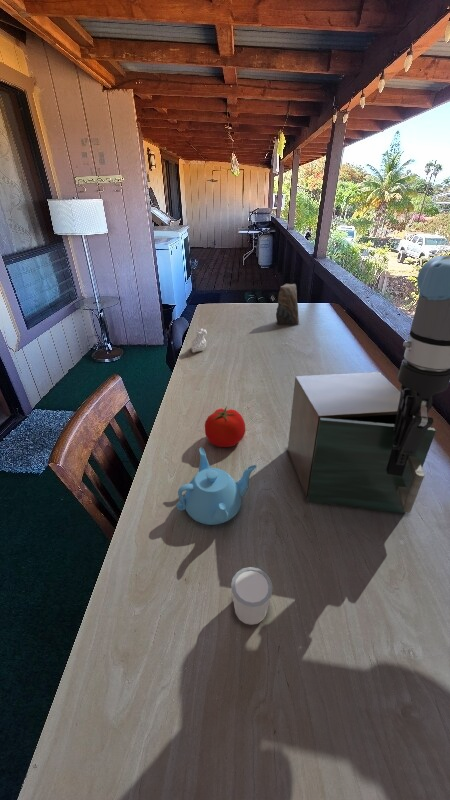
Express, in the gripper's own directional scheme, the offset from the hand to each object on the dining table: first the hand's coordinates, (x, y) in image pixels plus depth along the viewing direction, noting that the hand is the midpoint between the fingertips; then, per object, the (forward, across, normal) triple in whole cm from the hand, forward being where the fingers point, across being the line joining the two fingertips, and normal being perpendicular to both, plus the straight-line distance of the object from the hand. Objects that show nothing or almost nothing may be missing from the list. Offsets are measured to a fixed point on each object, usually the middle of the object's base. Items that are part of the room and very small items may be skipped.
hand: (394, 472), depth 69 cm
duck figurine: (+7, -85, -67) cm, 108 cm away
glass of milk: (+16, +24, -24) cm, 37 cm away
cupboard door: (+15, -1, -4) cm, 16 cm away
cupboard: (+15, -16, -8) cm, 24 cm away
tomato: (+15, -21, -40) cm, 48 cm away
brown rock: (+14, -133, -32) cm, 138 cm away
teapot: (+15, +3, -36) cm, 39 cm away
